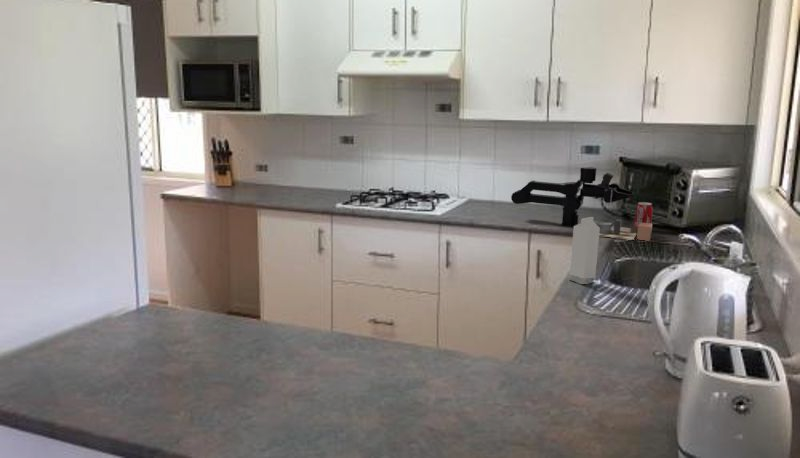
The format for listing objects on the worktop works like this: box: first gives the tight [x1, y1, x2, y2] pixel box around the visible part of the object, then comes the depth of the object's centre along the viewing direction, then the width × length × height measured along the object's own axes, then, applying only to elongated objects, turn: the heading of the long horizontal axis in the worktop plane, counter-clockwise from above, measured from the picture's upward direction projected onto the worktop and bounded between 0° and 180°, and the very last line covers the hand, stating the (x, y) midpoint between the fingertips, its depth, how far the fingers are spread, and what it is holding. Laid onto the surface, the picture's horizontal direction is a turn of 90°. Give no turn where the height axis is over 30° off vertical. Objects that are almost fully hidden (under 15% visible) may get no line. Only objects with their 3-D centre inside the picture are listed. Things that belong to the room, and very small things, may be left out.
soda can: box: [634, 201, 654, 231], centre depth 303 cm, size 7×7×12 cm
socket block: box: [636, 222, 653, 242], centre depth 285 cm, size 5×7×6 cm
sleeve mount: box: [593, 220, 637, 241], centre depth 292 cm, size 23×11×5 cm, turn 65°
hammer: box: [611, 218, 632, 234], centre depth 291 cm, size 18×3×6 cm, turn 65°
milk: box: [569, 216, 600, 280], centre depth 224 cm, size 6×6×22 cm
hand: (630, 194), depth 296 cm, fingers open, 9 cm apart
